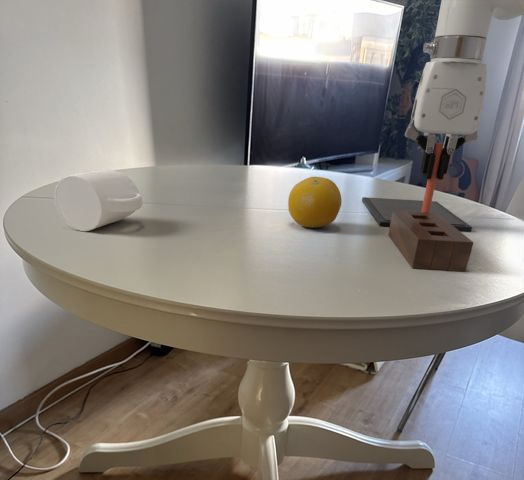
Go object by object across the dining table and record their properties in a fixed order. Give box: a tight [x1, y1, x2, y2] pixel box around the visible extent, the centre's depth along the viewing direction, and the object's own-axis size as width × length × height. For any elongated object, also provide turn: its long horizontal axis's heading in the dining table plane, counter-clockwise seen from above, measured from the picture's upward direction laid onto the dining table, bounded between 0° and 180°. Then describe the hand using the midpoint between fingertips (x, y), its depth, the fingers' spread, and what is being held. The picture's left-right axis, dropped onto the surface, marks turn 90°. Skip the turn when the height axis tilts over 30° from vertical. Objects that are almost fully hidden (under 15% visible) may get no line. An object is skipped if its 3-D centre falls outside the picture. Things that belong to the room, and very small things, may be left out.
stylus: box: [421, 142, 444, 213], centre depth 83 cm, size 1×1×12 cm
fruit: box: [287, 176, 343, 229], centre depth 79 cm, size 9×8×8 cm
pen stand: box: [387, 211, 474, 273], centre depth 71 cm, size 7×17×4 cm, turn 178°
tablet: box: [361, 196, 473, 233], centre depth 93 cm, size 16×22×1 cm
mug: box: [54, 168, 143, 232], centre depth 74 cm, size 12×9×8 cm
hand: (432, 177), depth 82 cm, fingers closed on stylus, 1 cm apart
